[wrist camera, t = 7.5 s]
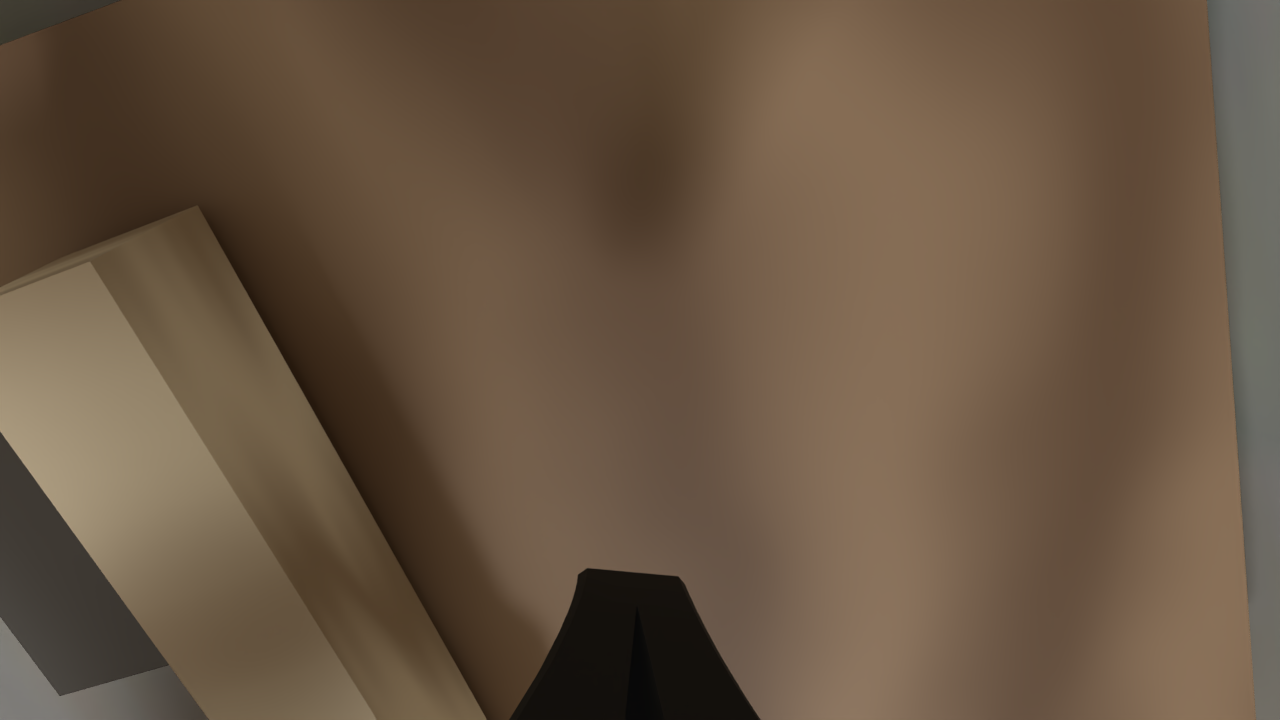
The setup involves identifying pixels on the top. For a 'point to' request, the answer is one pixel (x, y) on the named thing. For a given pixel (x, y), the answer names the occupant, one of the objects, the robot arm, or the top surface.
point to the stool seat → (702, 325)
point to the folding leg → (212, 486)
